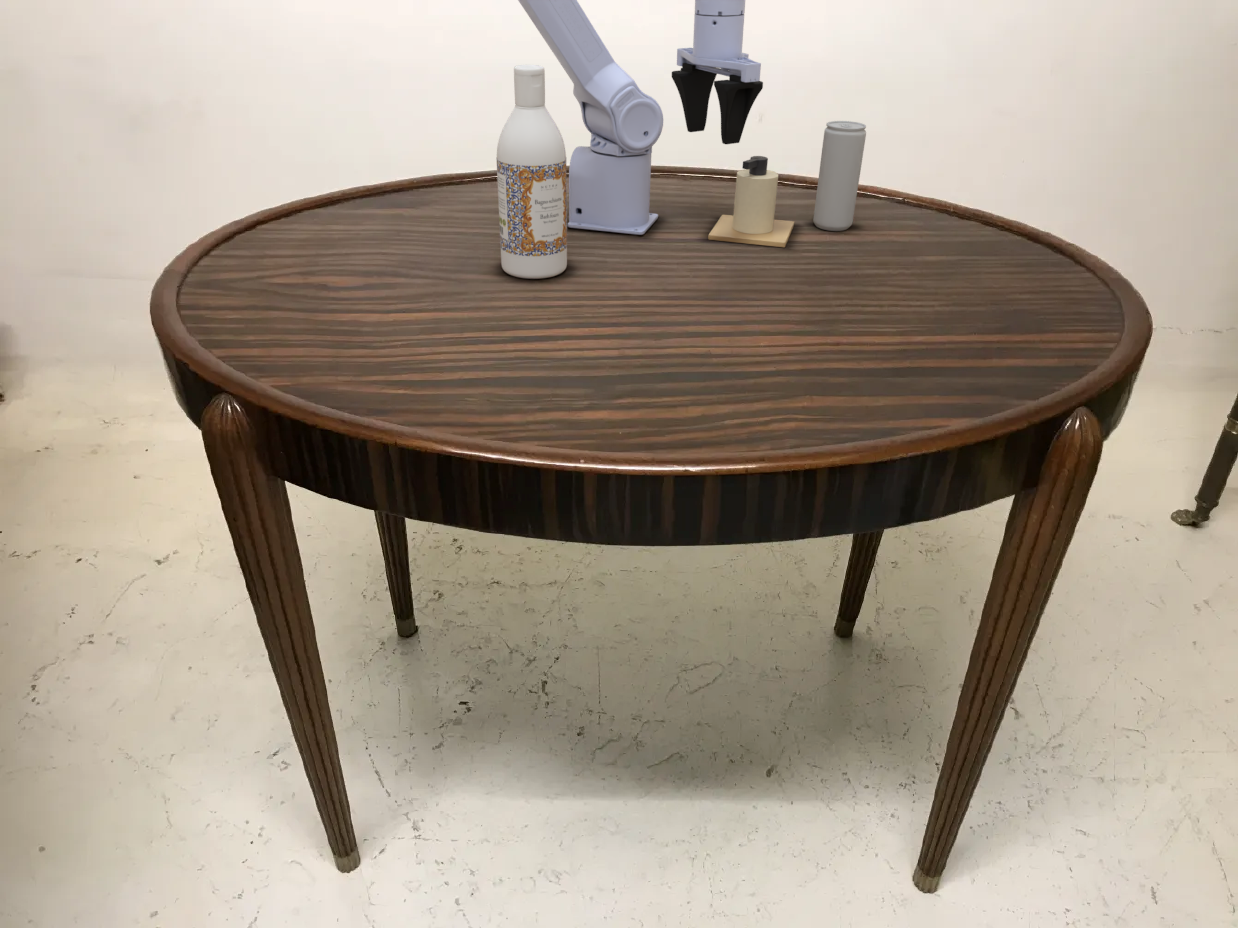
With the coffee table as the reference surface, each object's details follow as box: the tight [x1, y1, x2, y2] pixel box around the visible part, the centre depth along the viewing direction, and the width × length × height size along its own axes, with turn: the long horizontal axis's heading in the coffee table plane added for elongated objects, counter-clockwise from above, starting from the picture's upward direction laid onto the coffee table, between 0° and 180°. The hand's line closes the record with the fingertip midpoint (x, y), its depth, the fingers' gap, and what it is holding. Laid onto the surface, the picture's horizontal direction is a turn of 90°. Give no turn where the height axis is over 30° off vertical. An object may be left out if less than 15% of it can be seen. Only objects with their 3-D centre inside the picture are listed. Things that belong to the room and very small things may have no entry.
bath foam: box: [495, 64, 568, 280], centre depth 94 cm, size 7×7×20 cm
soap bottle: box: [732, 155, 779, 234], centre depth 109 cm, size 5×5×8 cm
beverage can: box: [812, 120, 867, 232], centre depth 112 cm, size 5×5×12 cm
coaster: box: [707, 214, 795, 248], centre depth 112 cm, size 9×9×1 cm
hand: (712, 137), depth 114 cm, fingers open, 7 cm apart
